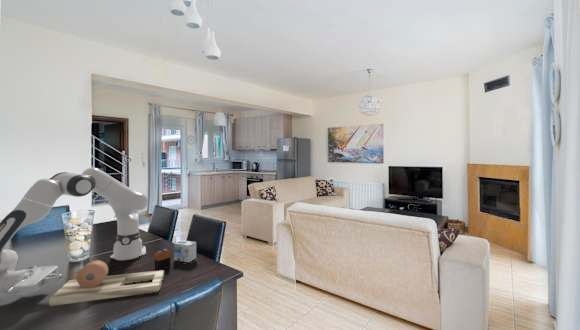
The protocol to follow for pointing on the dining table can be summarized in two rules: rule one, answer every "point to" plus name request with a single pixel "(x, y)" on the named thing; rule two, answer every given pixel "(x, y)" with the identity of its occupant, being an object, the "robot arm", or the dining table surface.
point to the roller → (92, 274)
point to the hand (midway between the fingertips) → (60, 277)
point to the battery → (162, 259)
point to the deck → (108, 288)
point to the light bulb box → (185, 251)
